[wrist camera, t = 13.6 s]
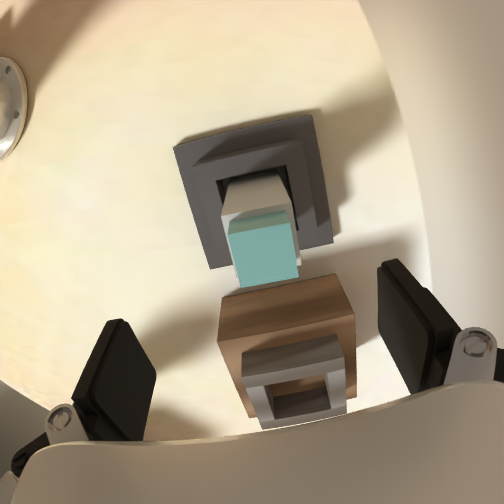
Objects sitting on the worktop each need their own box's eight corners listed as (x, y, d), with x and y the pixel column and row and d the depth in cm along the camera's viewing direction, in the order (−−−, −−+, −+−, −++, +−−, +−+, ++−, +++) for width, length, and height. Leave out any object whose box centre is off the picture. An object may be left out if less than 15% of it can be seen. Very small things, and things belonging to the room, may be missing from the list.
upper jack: (222, 297, 33) (214, 366, 24) (335, 273, 32) (364, 336, 23) (248, 374, 38) (249, 439, 29) (343, 355, 37) (363, 417, 28)
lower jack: (175, 145, 26) (164, 151, 23) (309, 114, 25) (319, 115, 22) (211, 264, 31) (206, 285, 28) (331, 238, 30) (341, 256, 27)
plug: (230, 178, 27) (217, 229, 16) (276, 169, 27) (296, 213, 16) (240, 221, 28) (235, 295, 18) (284, 212, 28) (306, 281, 17)
